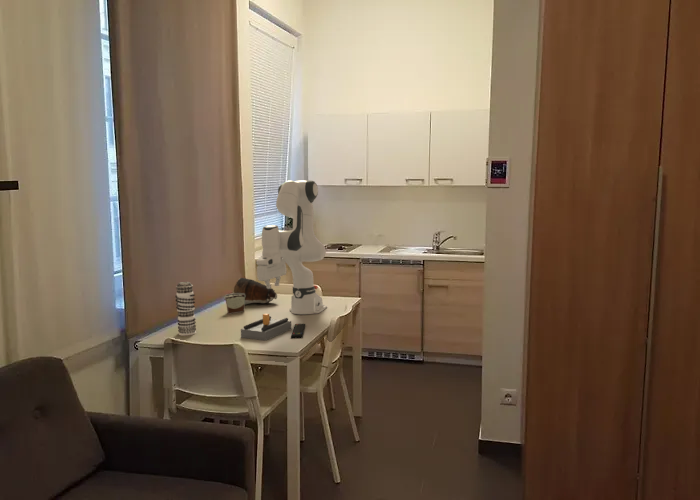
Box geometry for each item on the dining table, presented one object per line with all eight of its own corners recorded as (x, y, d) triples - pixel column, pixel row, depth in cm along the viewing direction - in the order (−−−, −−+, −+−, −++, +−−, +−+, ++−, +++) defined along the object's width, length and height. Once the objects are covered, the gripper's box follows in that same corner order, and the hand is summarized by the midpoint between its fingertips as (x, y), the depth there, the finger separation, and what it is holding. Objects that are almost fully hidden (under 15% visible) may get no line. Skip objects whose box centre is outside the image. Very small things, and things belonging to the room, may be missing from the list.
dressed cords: (269, 318, 303) (269, 315, 303) (288, 320, 298) (288, 317, 298) (242, 329, 284) (242, 326, 284) (263, 331, 279) (263, 328, 279)
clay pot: (274, 286, 348) (235, 277, 354) (269, 312, 348) (230, 303, 354) (283, 285, 362) (245, 276, 368) (279, 310, 363) (241, 301, 369)
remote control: (290, 339, 281) (290, 336, 281) (295, 326, 305) (294, 323, 305) (302, 339, 281) (302, 336, 281) (305, 326, 305) (305, 323, 305)
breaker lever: (265, 323, 292) (265, 313, 292) (269, 324, 291) (269, 313, 291) (263, 324, 291) (262, 314, 290) (267, 325, 290) (266, 314, 289)
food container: (242, 309, 345) (241, 291, 344) (246, 311, 340) (245, 293, 339) (221, 312, 339) (220, 294, 338) (225, 314, 334) (224, 296, 332)
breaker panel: (267, 326, 304) (267, 318, 304) (291, 328, 298) (291, 320, 298) (241, 337, 285) (240, 329, 284) (265, 340, 279) (265, 331, 278)
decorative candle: (191, 329, 302) (188, 280, 299) (200, 332, 295) (197, 282, 292) (174, 333, 296) (170, 282, 293) (183, 336, 289) (179, 285, 286)
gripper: (278, 255, 304) (279, 283, 306) (254, 261, 286) (255, 290, 288) (288, 256, 301) (290, 283, 303) (265, 262, 283) (266, 291, 285)
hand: (273, 287), depth 295 cm, fingers open, 5 cm apart
